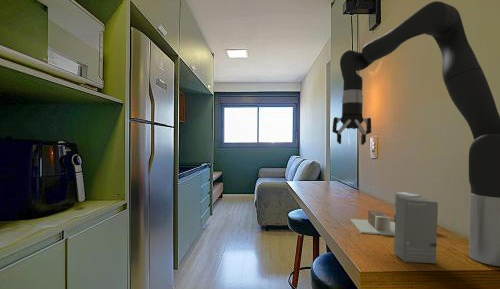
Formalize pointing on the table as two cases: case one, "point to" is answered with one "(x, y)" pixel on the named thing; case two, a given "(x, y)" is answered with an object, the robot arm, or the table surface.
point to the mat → (368, 229)
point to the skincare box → (416, 230)
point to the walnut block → (379, 220)
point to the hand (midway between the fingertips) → (351, 144)
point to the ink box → (404, 194)
